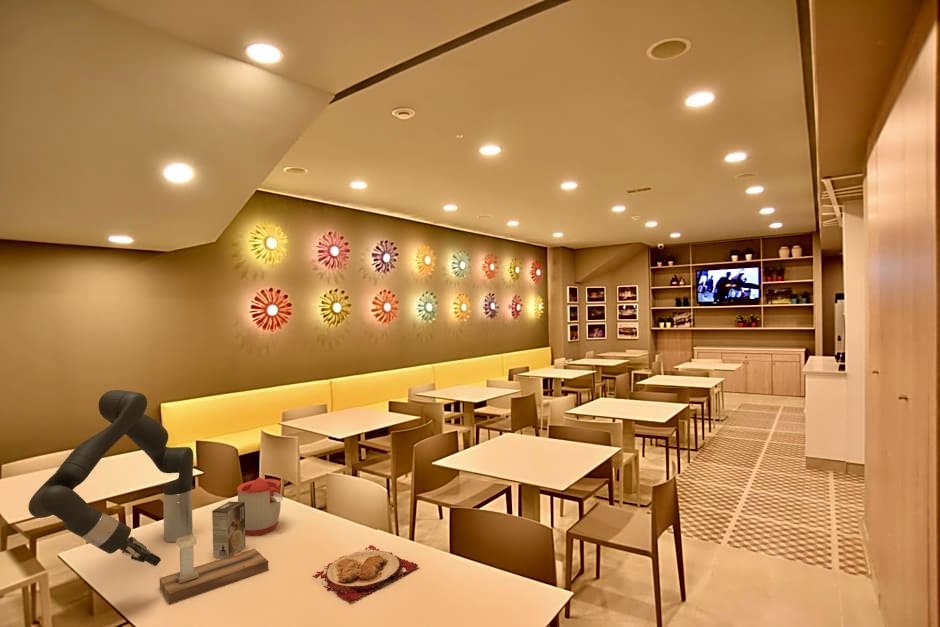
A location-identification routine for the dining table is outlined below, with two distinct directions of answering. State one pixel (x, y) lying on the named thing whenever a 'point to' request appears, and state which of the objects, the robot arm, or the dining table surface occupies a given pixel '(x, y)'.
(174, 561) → the dining table surface
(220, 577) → the brown wooden slider base
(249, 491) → the citrus juicer
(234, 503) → the coffee box
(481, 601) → the dining table surface
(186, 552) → the slider tab
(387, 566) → the plate with food
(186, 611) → the dining table surface
